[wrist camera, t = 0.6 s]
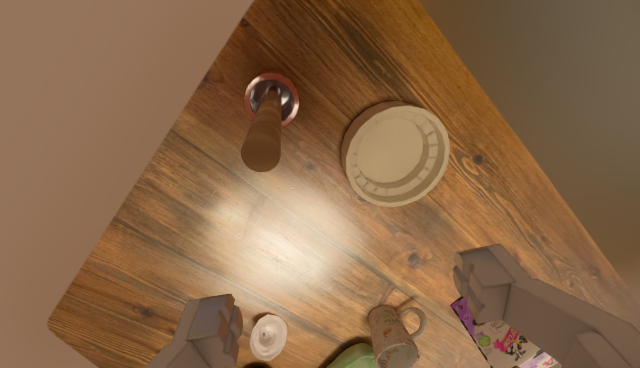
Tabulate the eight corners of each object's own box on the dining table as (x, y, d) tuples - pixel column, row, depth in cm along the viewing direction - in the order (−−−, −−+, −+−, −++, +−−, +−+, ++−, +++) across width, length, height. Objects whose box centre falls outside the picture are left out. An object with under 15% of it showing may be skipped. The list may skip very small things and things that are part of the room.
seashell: (262, 310, 64) (235, 329, 57) (280, 306, 61) (253, 325, 55) (276, 346, 63) (250, 370, 56) (294, 343, 61) (269, 368, 54)
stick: (261, 90, 41) (233, 144, 18) (277, 83, 41) (270, 129, 17) (269, 106, 42) (252, 178, 19) (284, 99, 42) (286, 163, 18)
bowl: (325, 125, 45) (330, 133, 40) (421, 83, 44) (437, 87, 39) (358, 206, 51) (365, 221, 47) (442, 171, 50) (458, 183, 46)
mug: (355, 316, 63) (367, 361, 54) (402, 283, 60) (423, 324, 51) (377, 334, 66) (392, 379, 57) (423, 303, 64) (446, 345, 54)
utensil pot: (241, 81, 41) (233, 87, 35) (285, 61, 40) (285, 63, 34) (262, 124, 44) (259, 137, 37) (304, 106, 43) (307, 116, 37)
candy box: (500, 265, 61) (569, 334, 46) (514, 278, 63) (585, 348, 49) (449, 305, 65) (498, 381, 50) (464, 316, 67) (516, 392, 52)
